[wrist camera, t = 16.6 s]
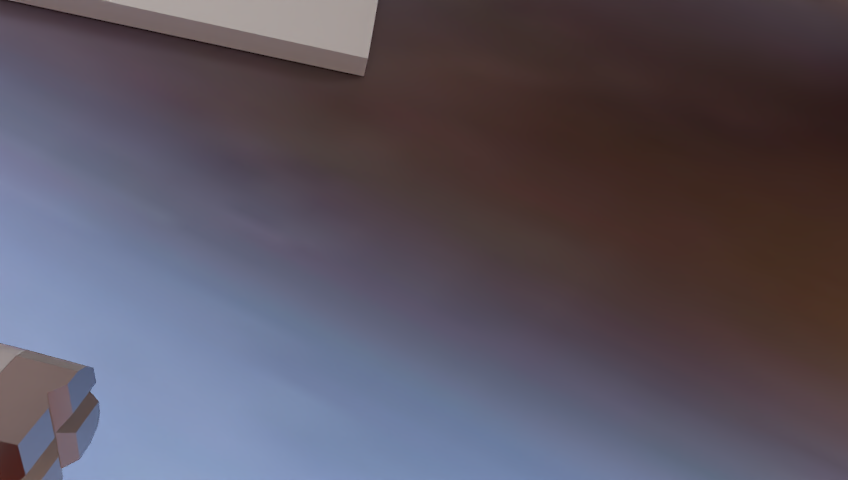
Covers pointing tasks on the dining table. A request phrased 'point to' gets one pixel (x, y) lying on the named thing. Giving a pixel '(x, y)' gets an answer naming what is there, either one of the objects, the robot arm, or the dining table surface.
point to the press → (250, 25)
